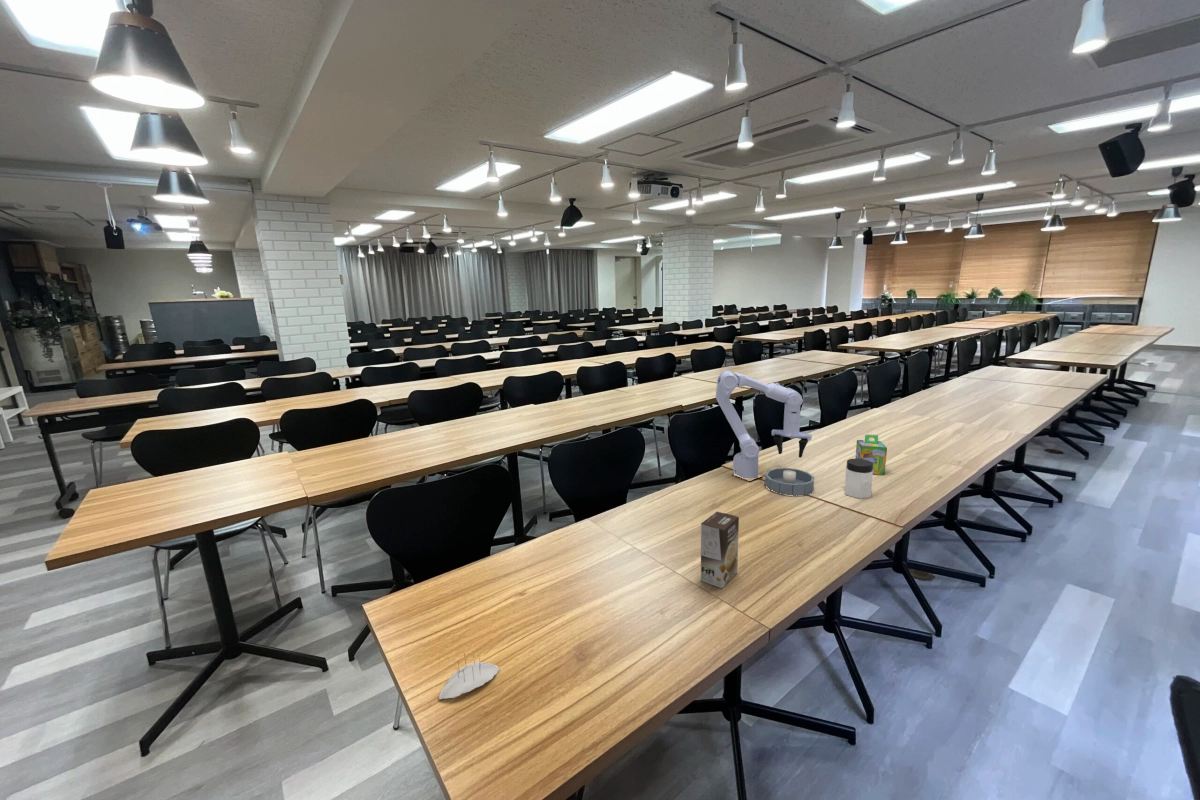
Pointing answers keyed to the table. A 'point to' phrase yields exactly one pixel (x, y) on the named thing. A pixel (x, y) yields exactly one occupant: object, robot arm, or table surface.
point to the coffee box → (719, 549)
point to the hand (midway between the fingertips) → (790, 455)
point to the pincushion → (468, 679)
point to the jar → (858, 478)
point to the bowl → (801, 486)
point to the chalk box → (872, 453)
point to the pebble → (789, 476)
